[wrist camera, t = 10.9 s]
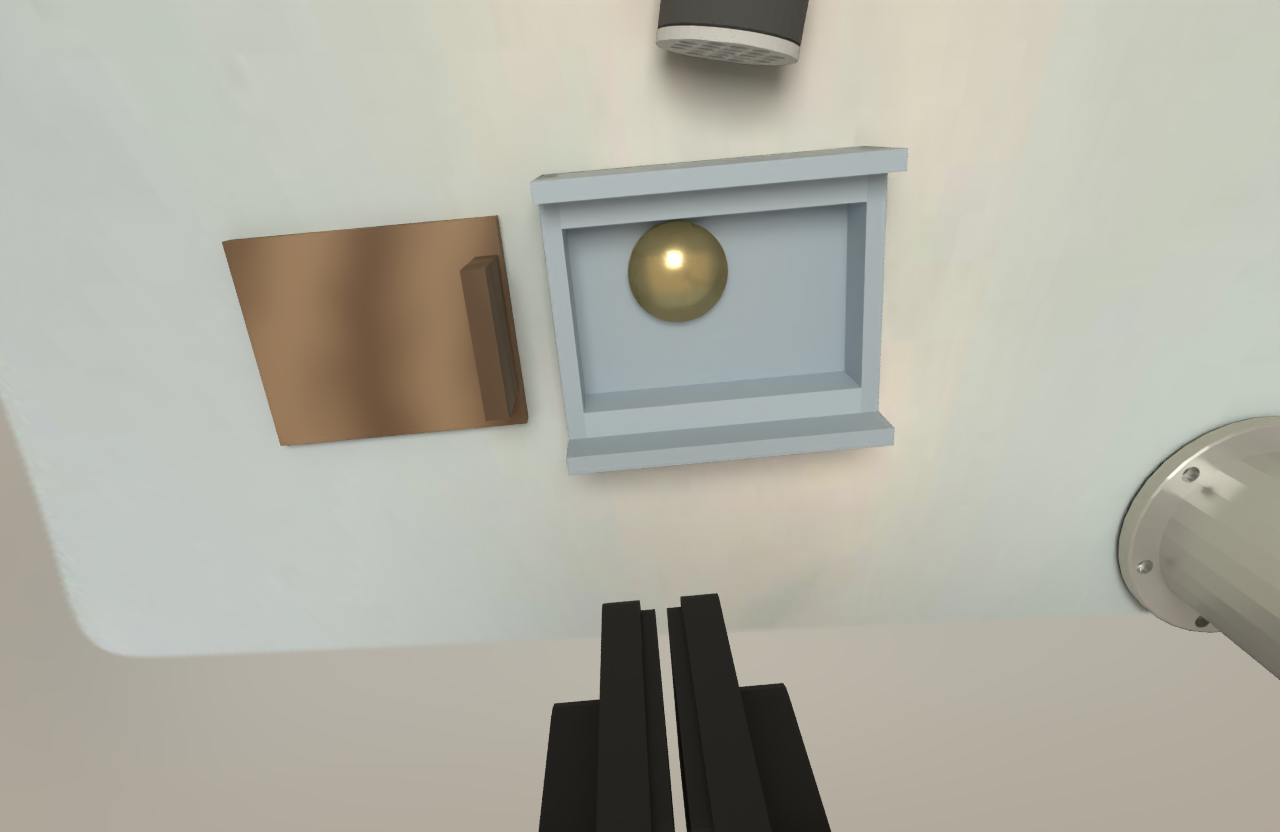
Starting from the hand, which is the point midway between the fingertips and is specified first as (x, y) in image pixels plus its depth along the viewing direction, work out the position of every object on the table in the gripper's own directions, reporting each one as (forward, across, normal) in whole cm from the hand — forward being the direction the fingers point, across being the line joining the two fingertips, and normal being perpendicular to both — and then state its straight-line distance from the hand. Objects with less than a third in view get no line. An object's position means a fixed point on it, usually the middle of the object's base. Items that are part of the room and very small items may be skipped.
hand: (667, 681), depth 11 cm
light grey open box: (+25, -4, 0) cm, 25 cm away
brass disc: (+24, -2, -2) cm, 24 cm away
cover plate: (+25, +11, 0) cm, 28 cm away
